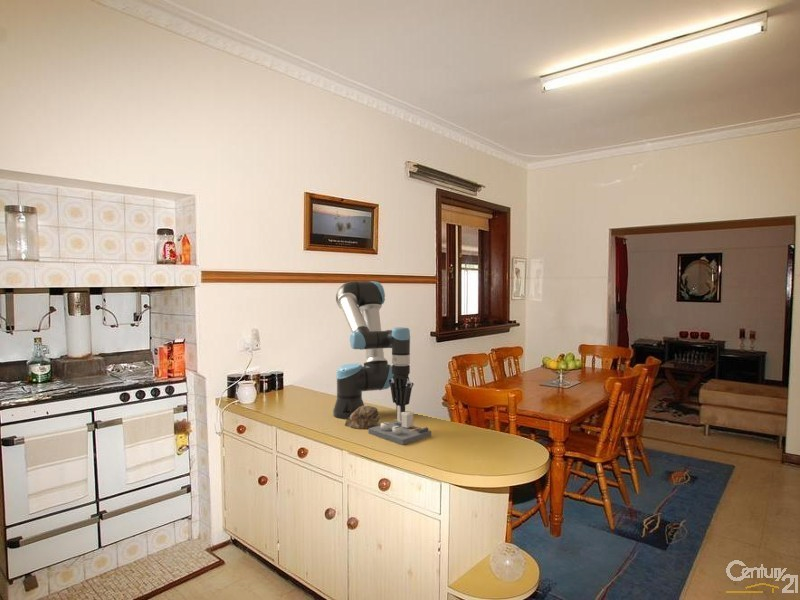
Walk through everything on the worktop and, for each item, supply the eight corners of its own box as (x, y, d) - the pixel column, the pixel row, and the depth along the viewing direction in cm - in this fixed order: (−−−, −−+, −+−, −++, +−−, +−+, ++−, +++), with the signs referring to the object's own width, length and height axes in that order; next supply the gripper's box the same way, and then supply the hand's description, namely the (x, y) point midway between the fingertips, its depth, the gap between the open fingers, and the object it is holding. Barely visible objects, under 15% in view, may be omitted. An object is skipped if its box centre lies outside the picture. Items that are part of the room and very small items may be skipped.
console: (368, 433, 195) (368, 422, 195) (397, 425, 206) (397, 415, 206) (402, 445, 180) (402, 433, 180) (431, 435, 192) (431, 424, 192)
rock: (355, 422, 214) (340, 428, 205) (354, 403, 214) (339, 408, 205) (381, 425, 206) (367, 431, 197) (380, 405, 206) (366, 410, 198)
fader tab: (400, 426, 197) (401, 412, 197) (407, 424, 200) (407, 410, 199) (406, 428, 194) (406, 414, 194) (413, 426, 197) (413, 412, 197)
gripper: (383, 363, 201) (383, 419, 202) (405, 367, 192) (405, 425, 192) (396, 361, 206) (396, 416, 207) (418, 365, 197) (418, 422, 197)
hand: (400, 420), depth 199 cm, fingers closed
